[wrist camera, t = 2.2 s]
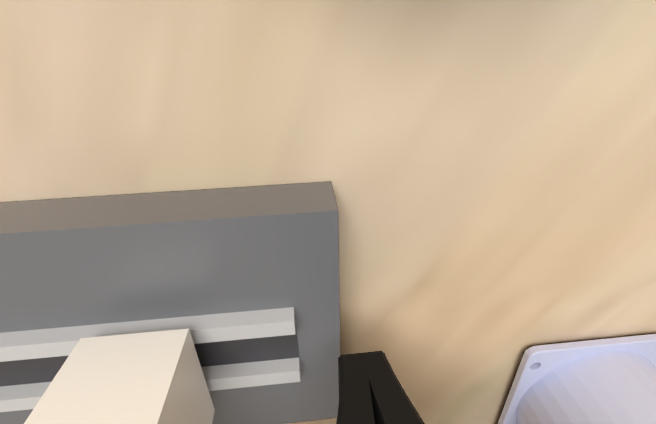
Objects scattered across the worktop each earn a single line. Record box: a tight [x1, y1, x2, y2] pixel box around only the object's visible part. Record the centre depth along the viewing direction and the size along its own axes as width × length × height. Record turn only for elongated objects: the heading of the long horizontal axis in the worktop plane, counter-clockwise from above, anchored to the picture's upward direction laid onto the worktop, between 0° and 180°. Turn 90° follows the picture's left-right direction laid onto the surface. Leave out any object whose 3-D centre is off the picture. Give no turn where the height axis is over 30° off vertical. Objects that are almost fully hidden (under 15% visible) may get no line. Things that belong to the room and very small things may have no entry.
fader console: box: [0, 181, 340, 424], centre depth 12 cm, size 10×20×3 cm, turn 92°
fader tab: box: [24, 329, 215, 424], centre depth 10 cm, size 4×3×4 cm
